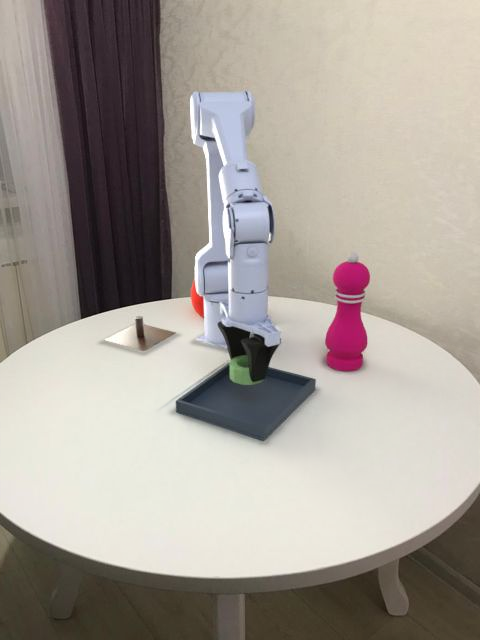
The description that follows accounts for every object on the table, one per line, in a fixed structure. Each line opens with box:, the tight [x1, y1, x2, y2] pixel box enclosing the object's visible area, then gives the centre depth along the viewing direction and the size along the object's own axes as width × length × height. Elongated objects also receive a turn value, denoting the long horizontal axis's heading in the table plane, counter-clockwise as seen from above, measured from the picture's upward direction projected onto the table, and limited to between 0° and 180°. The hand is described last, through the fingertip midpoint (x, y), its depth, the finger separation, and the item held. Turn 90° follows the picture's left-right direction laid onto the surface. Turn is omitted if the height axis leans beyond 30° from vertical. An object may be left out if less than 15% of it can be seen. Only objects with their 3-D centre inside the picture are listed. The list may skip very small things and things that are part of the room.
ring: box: [229, 355, 263, 385], centre depth 90 cm, size 5×5×2 cm
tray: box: [175, 361, 317, 442], centre depth 92 cm, size 17×15×2 cm
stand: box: [103, 315, 177, 352], centre depth 113 cm, size 10×10×4 cm
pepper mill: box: [324, 252, 371, 372], centre depth 100 cm, size 7×7×20 cm
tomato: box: [190, 279, 204, 318], centre depth 123 cm, size 11×11×9 cm
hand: (248, 371), depth 90 cm, fingers closed on ring, 5 cm apart
